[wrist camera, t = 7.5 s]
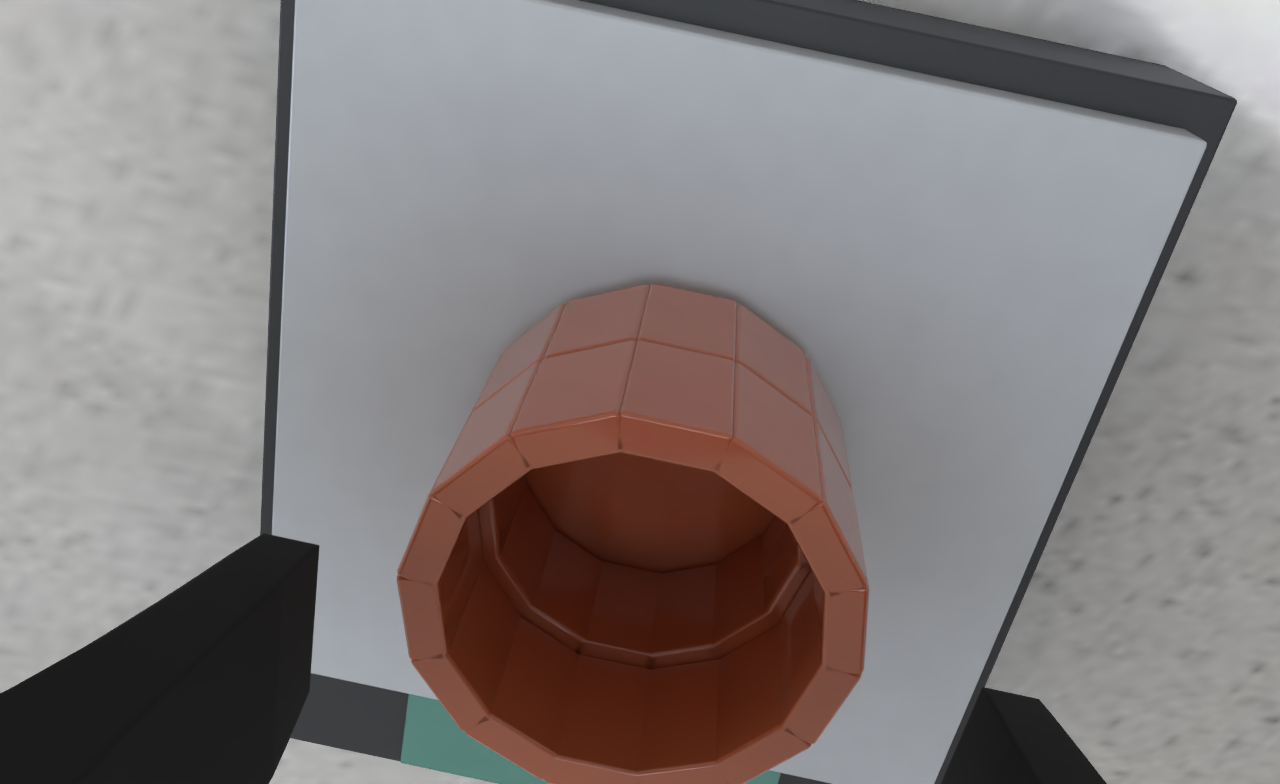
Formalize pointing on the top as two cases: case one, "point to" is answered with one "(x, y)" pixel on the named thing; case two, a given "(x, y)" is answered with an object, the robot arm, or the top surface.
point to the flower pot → (642, 549)
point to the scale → (713, 292)
